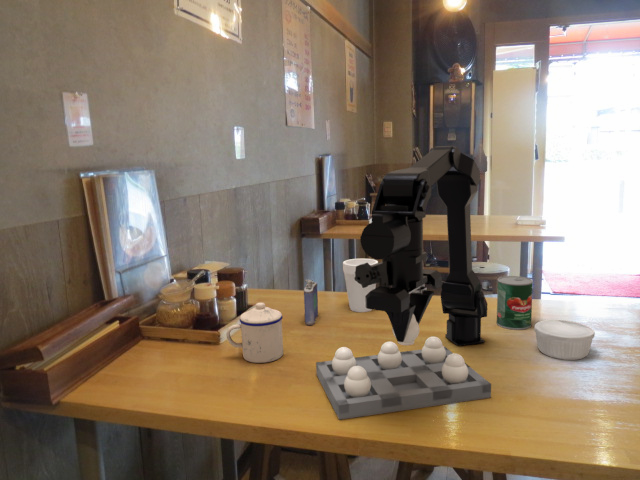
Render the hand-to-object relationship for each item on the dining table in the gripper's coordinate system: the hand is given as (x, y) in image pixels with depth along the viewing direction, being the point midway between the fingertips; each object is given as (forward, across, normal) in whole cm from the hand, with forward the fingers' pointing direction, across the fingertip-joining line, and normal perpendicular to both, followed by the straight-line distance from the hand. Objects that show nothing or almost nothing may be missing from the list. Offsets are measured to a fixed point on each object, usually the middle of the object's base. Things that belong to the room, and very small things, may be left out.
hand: (406, 336), depth 90 cm
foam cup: (+11, -41, -31) cm, 53 cm away
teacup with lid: (+11, -2, -36) cm, 37 cm away
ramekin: (+11, -34, +20) cm, 41 cm away
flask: (+11, -27, -38) cm, 48 cm away
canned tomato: (+11, -46, +8) cm, 48 cm away
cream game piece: (+1, 0, 0) cm, 1 cm away
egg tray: (+11, -3, -3) cm, 12 cm away
